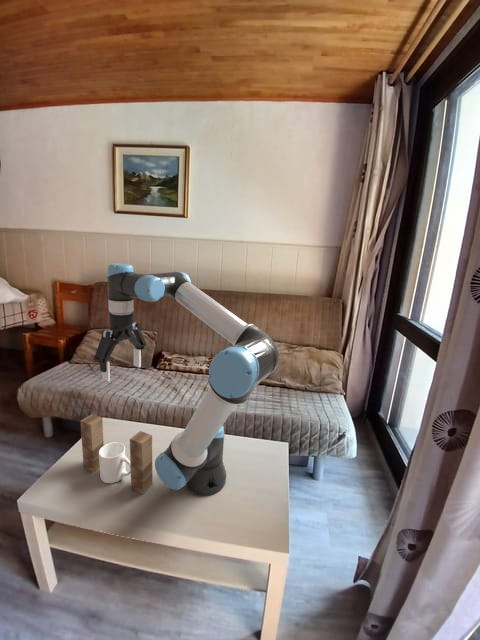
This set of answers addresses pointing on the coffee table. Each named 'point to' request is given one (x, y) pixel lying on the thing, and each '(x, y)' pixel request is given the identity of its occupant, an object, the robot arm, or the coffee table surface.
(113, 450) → the mug
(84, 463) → the post far
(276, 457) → the coffee table surface
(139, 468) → the post near
